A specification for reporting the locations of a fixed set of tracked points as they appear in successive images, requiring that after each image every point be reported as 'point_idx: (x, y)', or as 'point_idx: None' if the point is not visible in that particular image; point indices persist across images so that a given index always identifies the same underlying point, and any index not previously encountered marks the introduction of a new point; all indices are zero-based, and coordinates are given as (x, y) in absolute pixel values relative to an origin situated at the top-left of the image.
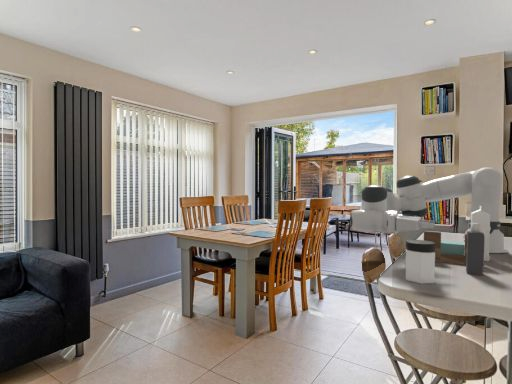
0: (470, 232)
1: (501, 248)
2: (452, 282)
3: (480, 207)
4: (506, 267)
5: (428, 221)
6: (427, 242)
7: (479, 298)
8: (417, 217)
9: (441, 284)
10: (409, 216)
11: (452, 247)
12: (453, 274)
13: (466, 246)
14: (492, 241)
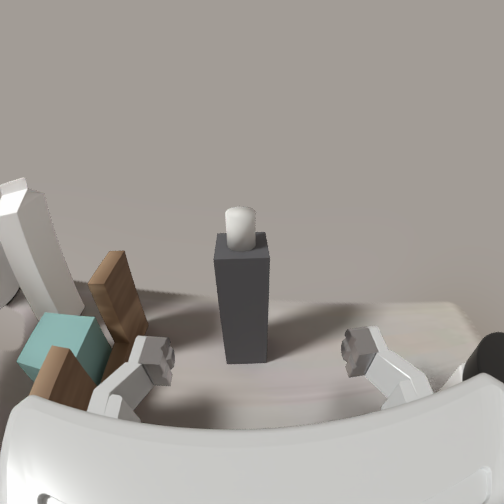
0: (259, 253)
1: None
2: None
3: (13, 185)
4: (138, 290)
5: (142, 372)
6: (502, 349)
7: (453, 327)
8: (106, 440)
9: (435, 388)
10: (15, 479)
11: (87, 352)
12: (306, 389)
13: (119, 315)
14: (6, 266)
